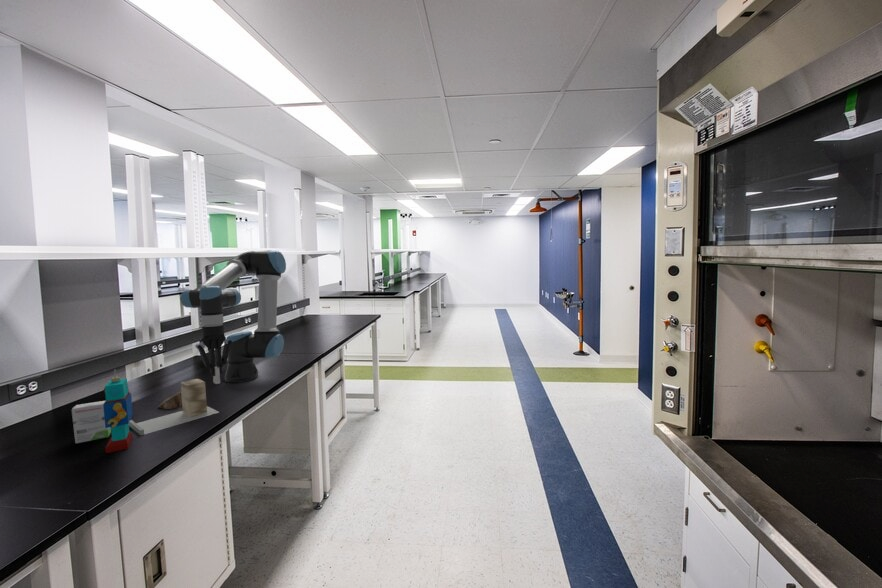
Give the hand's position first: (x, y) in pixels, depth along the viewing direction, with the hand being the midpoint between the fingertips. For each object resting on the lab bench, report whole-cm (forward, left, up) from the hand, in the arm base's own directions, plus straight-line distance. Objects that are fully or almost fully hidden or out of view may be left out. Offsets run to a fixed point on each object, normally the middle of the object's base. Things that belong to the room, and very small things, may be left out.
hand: (216, 383), depth 157 cm
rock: (+8, -20, -11) cm, 24 cm away
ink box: (+37, -5, -10) cm, 39 cm away
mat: (+15, 0, -10) cm, 18 cm away
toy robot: (+33, +10, -10) cm, 36 cm away
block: (+8, 0, -10) cm, 13 cm away
